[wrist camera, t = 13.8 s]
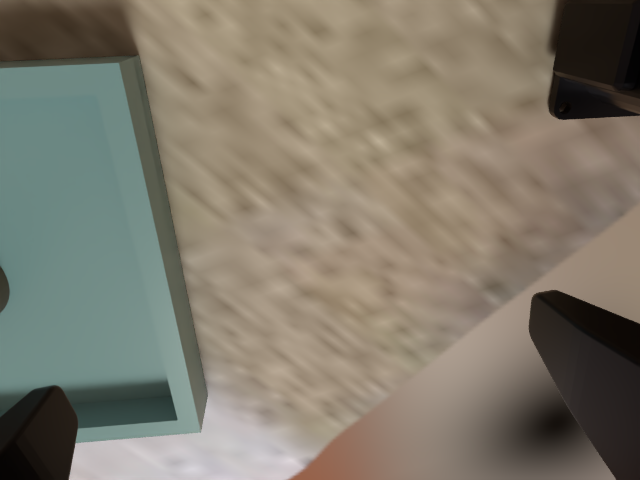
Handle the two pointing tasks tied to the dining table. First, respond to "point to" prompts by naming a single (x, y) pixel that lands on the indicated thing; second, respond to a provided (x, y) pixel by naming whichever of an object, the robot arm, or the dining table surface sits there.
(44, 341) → the tray
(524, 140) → the dining table surface
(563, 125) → the dining table surface
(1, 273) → the shaker
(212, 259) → the dining table surface
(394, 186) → the dining table surface
